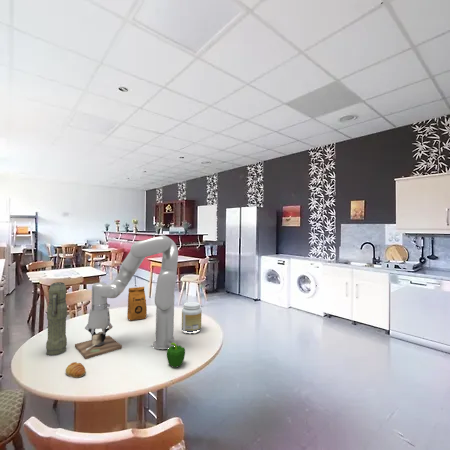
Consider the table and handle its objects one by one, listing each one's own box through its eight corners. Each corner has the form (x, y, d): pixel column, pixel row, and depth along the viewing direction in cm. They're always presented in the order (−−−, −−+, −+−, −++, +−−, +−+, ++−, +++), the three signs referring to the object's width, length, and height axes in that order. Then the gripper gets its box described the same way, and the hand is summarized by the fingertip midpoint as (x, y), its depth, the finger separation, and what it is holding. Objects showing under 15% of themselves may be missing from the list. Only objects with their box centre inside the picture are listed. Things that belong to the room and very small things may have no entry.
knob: (98, 341, 152) (98, 331, 152) (106, 342, 150) (106, 332, 150) (81, 350, 140) (81, 339, 140) (90, 352, 139) (91, 341, 139)
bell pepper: (188, 365, 131) (188, 344, 131) (173, 371, 126) (173, 349, 126) (178, 358, 137) (178, 338, 137) (163, 364, 132) (163, 343, 132)
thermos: (67, 345, 150) (69, 280, 150) (64, 355, 139) (66, 285, 139) (48, 348, 146) (50, 281, 146) (43, 358, 135) (45, 286, 135)
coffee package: (147, 319, 193) (148, 287, 193) (128, 322, 187) (129, 289, 187) (144, 315, 202) (145, 285, 202) (126, 317, 196) (127, 286, 196)
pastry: (90, 374, 122) (90, 365, 122) (74, 381, 117) (74, 372, 117) (78, 367, 128) (78, 359, 128) (63, 374, 122) (63, 365, 122)
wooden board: (122, 348, 147) (122, 345, 147) (85, 359, 135) (85, 355, 135) (109, 338, 161) (109, 335, 161) (74, 346, 148) (74, 343, 148)
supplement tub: (205, 331, 174) (205, 304, 174) (190, 336, 165) (190, 307, 165) (192, 326, 182) (193, 300, 182) (177, 331, 173) (178, 303, 173)
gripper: (117, 304, 153) (116, 337, 153) (85, 304, 151) (84, 338, 151) (113, 308, 145) (112, 343, 145) (79, 308, 143) (79, 344, 143)
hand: (98, 340), depth 148 cm, fingers closed on knob, 3 cm apart
